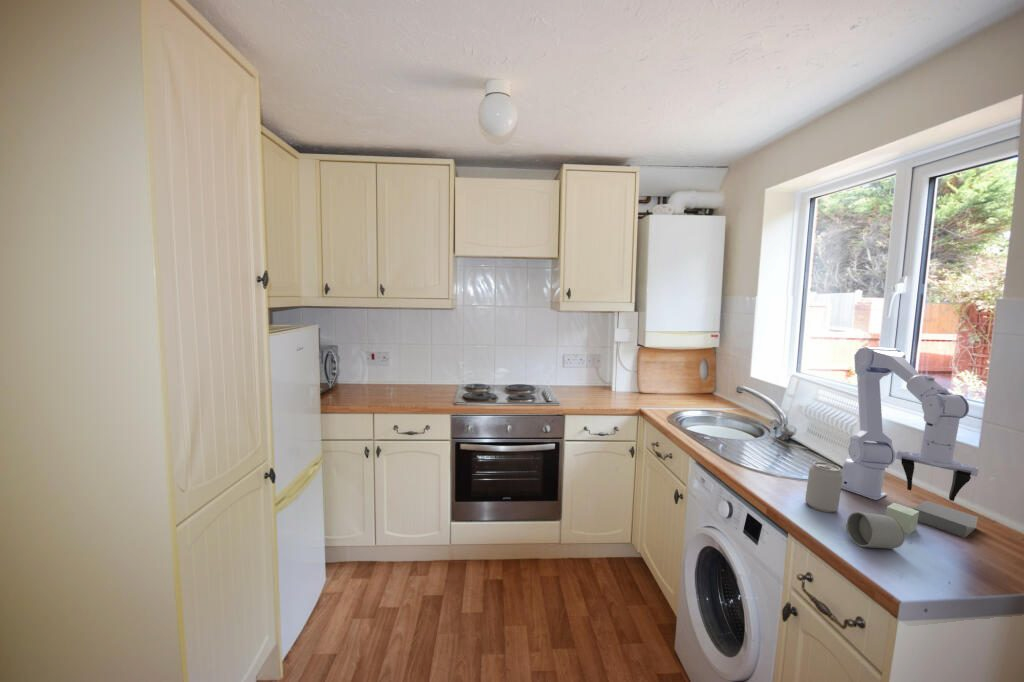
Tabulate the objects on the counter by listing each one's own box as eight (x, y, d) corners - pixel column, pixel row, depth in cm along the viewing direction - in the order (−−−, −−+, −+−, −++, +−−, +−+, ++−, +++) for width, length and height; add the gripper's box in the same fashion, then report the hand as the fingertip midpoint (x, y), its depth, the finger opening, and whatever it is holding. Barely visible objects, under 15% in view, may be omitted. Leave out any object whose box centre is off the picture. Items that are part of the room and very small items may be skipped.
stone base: (912, 518, 116) (914, 508, 115) (924, 510, 121) (926, 500, 121) (964, 537, 107) (967, 526, 107) (975, 528, 113) (977, 517, 112)
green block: (883, 525, 112) (886, 506, 111) (891, 520, 114) (894, 502, 114) (909, 534, 107) (912, 515, 107) (916, 529, 110) (919, 511, 110)
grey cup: (905, 555, 98) (910, 523, 97) (869, 554, 98) (874, 521, 97) (866, 530, 108) (870, 501, 108) (834, 529, 108) (838, 499, 108)
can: (798, 502, 122) (804, 461, 120) (815, 499, 125) (821, 458, 123) (826, 515, 115) (833, 472, 113) (844, 511, 118) (850, 469, 116)
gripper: (900, 437, 109) (891, 489, 111) (984, 454, 100) (973, 510, 101) (899, 432, 114) (891, 481, 116) (979, 447, 105) (969, 500, 107)
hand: (929, 494), depth 109 cm, fingers open, 7 cm apart
